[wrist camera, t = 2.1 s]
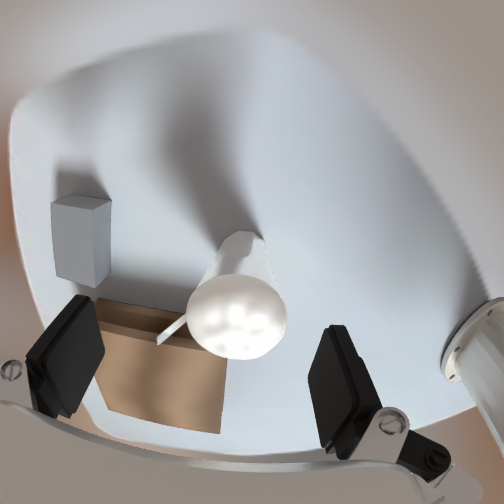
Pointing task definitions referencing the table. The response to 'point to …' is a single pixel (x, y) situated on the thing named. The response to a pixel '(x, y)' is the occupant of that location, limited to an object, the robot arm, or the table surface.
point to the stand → (158, 369)
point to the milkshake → (236, 302)
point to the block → (82, 239)
